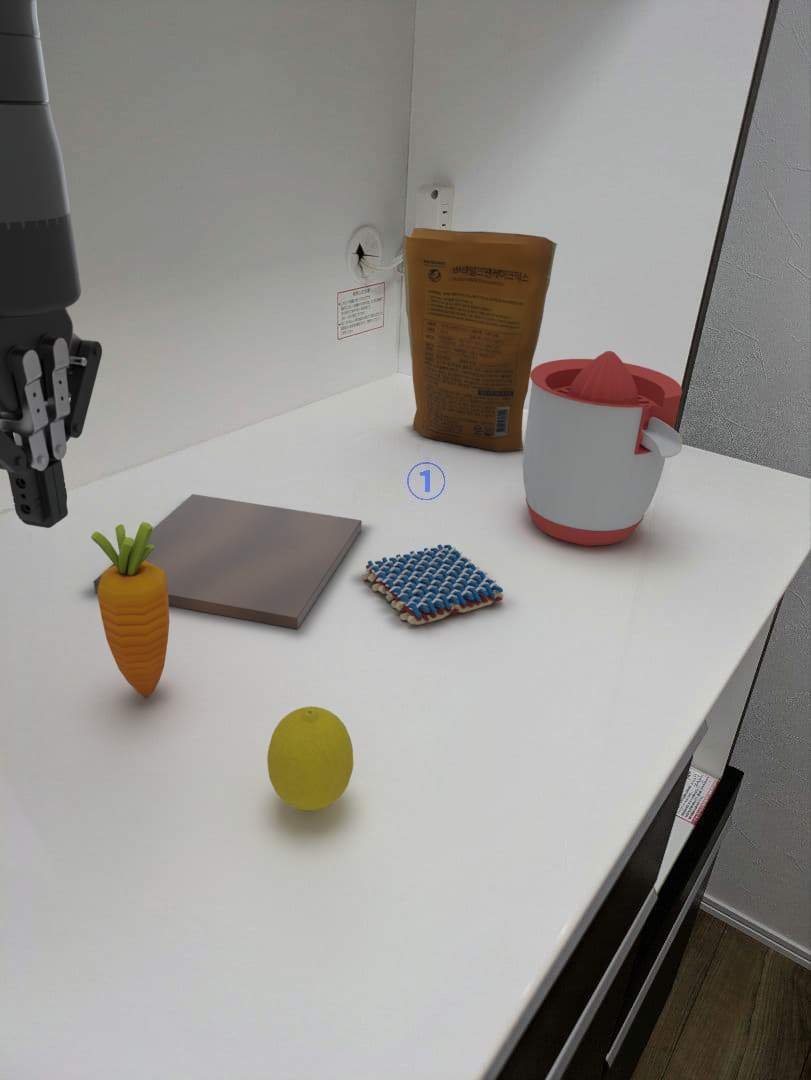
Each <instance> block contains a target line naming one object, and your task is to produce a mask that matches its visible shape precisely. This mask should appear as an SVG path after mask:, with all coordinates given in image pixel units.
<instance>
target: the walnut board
mask: <svg viewBox="0 0 811 1080" xmlns="http://www.w3.org/2000/svg"><path fill="white" fill-rule="evenodd" d="M362 523H363V522H362V519H355V518H351V517H350V518H349V517H343V516H338V515H337V516H336V515H330V514H324V513H317V512H311V511H304V510H297V509H292V508H285V507H280V506H279V507H278V506H272V505H265V504H258V503H252V502H246V501H240V500H233V499H227V498H220V497H216V496H215V497H214V496H208V495H201V494H194V493H192V494H190V495H189V496H188V497H187V498H186V499H185V500H184V501H182V503H180V505H178V506H177V507H176V508H175V509H174V510H172V511H171V512H170V513H169V514H168V515H166V517H164V519H162V520H161V521H160V522H159V523H158V524H156V525H155V527H153V529H152V532H151V535H150V538H149V540H148V543H147V545H150V544H152V545H153V546H155V548H154V549H153V550H152V551H151V553H150V554H149V555H148V556H147V558H146V559H145V560H144V561H147V562H149V563H150V564H152V565H154V566H156V567H158V568H160V569H162V570H163V571H164V572H165V574H166V577H167V586H168V600H169V607H176V608H180V609H186V610H192V611H197V612H202V613H207V614H213V615H219V616H225V617H230V618H234V619H241V620H245V621H251V622H256V623H262V624H268V625H273V626H279V627H284V628H289V629H294V630H298V629H299V627H300V626H301V625H302V623H303V622H304V620H305V618H306V617H307V615H308V613H309V612H310V610H311V609H312V607H313V606H314V604H315V603H316V601H317V600H318V598H319V597H320V595H321V594H322V592H323V590H324V589H325V587H326V586H327V584H328V582H329V581H330V579H331V578H332V577H333V574H334V573H335V571H336V570H337V568H339V565H340V564H341V562H342V560H343V559H344V558H345V556H346V555H347V553H348V551H349V549H351V546H352V545H353V544H354V542H355V540H356V539H357V537H358V536H359V534H360V533H361V531H362ZM113 566H115V565H114V563H113V564H111V565H110V566H109V567H108V568H107V569H109V568H111V567H113ZM101 576H102V573H101V574H99V576H97V577H96V578H95V579H94V580H93V587H94V592H95V593H97V591H98V586H99V583H100V579H101Z"/></svg>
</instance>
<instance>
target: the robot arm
mask: <svg viewBox="0 0 811 1080" xmlns="http://www.w3.org/2000/svg"><path fill="white" fill-rule="evenodd" d="M37 7H38V6H37V0H0V470H3V471H6V472H7V475H8V480H9V485H10V490H11V491H10V492H11V496H12V500H13V503H14V511H15V513H16V516H17V517H18V519H19V520H20V521H21V522H22V523H23V524H25V525H27V526H33V527H39V528H43V529H50V528H53V527H54V526H55V525H57V524H58V523H59V522H61V521H62V520H63V519H65V518H66V517H68V514H69V509H68V504H67V503H68V493H67V486H66V481H65V474H64V468H63V462H62V459H64V457H66V453H67V447H68V446H67V442H68V441H69V440H70V439H71V438H73V439H79V438H80V436H81V435H82V433H83V430H84V426H85V423H86V419H87V414H88V411H89V407H90V403H91V399H92V395H93V392H94V388H95V383H96V379H97V375H98V371H99V368H100V364H101V360H102V356H103V348H102V347H103V346H102V344H101V343H100V341H97V340H90V339H83V338H81V337H80V336H78V335H77V334H76V333H74V326H73V325H74V324H73V320H72V317H71V315H70V314H69V312H68V309H67V308H69V307H71V306H73V305H74V304H75V303H76V302H77V301H78V300H80V297H81V294H82V286H81V279H80V271H79V265H78V258H77V257H78V256H77V250H76V244H75V243H76V242H75V236H74V229H73V222H72V221H73V220H72V214H71V209H70V201H69V193H68V186H67V178H66V172H65V165H64V160H63V159H64V158H63V153H62V151H61V150H62V149H61V145H60V141H59V138H58V135H57V131H56V127H55V122H54V119H53V115H52V109H51V105H50V104H49V103H48V102H49V101H50V98H49V90H48V83H47V76H46V68H45V62H44V55H43V48H42V41H41V38H40V37H41V32H40V26H39V19H38V9H37Z"/></svg>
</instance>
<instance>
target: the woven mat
mask: <svg viewBox="0 0 811 1080" xmlns="http://www.w3.org/2000/svg"><path fill="white" fill-rule="evenodd" d="M462 554H463V552H462V551H461V552H459V550H457V548H456V547H455V546H454V547H452V545H451V544H445V545H442V544H441V543H440V544H437V547H431V548H428V547H425V548H423V550H418V551H416V552H415V551H414V550H412V551H409V554H408V553H407V554H406V553H405V554H402V556H401V554H400V553H399V554H396V555H395V557H389V558H388V559H387V557H386V556H384V557H382V558H381V560H375V561H374V563H373V561H372V560H368V561H367V564H366V565H365V572H366V573H364V574H361V578H362V580H363V581H365V580H368V581H370V582H371V583H373V582H374V583H373V584H372V586H371V588H372V591H373V592H379V593H381V594H383V595H386V596H385V598H386V600H387V601H388V602H391V603H390V605H391V607H392V608H393V609H394V608H395V609H396V610H398V612H400V611H402V612H403V611H406V612H404V613H401V614H399V618H400V620H401V621H407V622H408V623H409V624H411V625H417V626H420V625H423V624H427V623H432V622H435V621H438V620H442V619H444V618H446V617H448V616H450V614H451V613H452V614H457V613H468V612H471V611H474V610H477V609H481V608H483V607H486V606H489V605H492V604H493V603H494V602H501V601H503V599H504V594H503V591H504V589H503V588H502V586H500V585H499V584H497V582H498V581H497V580H496V579H492V578H491V577H487V575H488V573H487V572H486V571H482V570H480V567H479V566H475V565H476V564H474V563H473V562H471V561H472V560H471V558H467V557H466V556H463V555H462Z"/></svg>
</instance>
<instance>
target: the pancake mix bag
mask: <svg viewBox="0 0 811 1080" xmlns="http://www.w3.org/2000/svg"><path fill="white" fill-rule="evenodd" d="M557 246H558V243H556V242H555V241H553V240H551V239H549V238H547V237H546V236H540V235H532V234H524V233H513V232H512V233H511V232H498V231H482V230H481V231H463V230H462V231H461V230H460V231H457V230H450V229H436V228H427V227H413V229H412V233H411V236H410V235H407V234H403V239H402V250H401V251H402V252H401V253H402V254H401V255H402V256H401V258H402V263H403V268H404V269H403V270H404V273H403V274H404V290H405V293H404V294H405V312H406V317H407V331H408V332H407V333H408V340H409V350H410V358H411V370H412V371H411V373H412V374H411V375H412V386H413V392H414V399H415V406H416V409H415V413H414V417H413V421H412V429H414V430H415V431H416V432H417V434H419V435H420V436H421V437H424V438H427V439H430V440H434V441H441V442H446V443H451V444H456V445H461V446H462V445H463V446H467V447H473V448H477V449H482V450H487V451H490V452H495V453H505V452H514V451H517V450H521V449H522V450H523V449H524V443H523V442H524V441H523V415H524V407H525V401H526V398H527V395H528V391H529V384H530V379H531V378H530V374H531V371H532V366H533V360H534V357H535V353H536V351H537V346H538V342H539V337H540V333H541V328H542V323H543V318H544V311H545V304H546V299H547V294H548V290H549V287H550V284H551V278H552V270H553V265H554V259H555V254H556V249H557Z"/></svg>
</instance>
